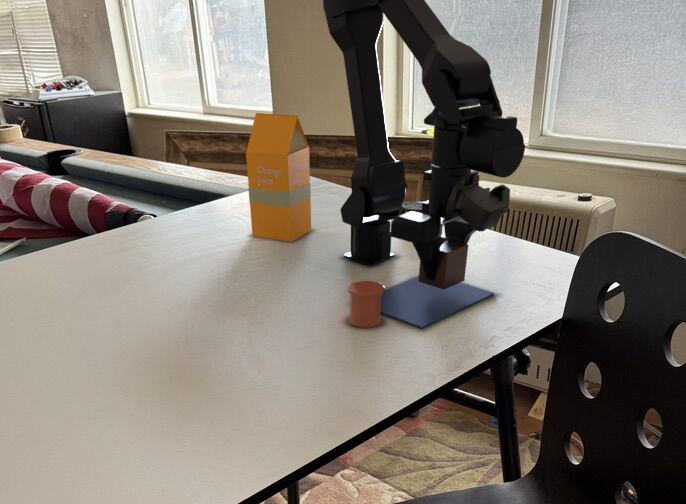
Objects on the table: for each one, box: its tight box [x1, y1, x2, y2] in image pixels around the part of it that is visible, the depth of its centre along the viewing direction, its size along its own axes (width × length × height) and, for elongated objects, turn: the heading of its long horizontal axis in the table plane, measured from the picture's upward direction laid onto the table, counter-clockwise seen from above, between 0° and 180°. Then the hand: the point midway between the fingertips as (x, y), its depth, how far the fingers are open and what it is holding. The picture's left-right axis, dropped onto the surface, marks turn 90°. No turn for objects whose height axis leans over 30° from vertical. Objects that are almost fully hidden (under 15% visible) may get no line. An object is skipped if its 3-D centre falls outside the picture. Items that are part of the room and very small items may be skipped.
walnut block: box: [418, 239, 469, 290], centre depth 105 cm, size 5×5×6 cm
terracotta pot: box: [347, 280, 385, 329], centre depth 97 cm, size 5×5×5 cm
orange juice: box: [245, 112, 312, 243], centre depth 126 cm, size 8×9×20 cm
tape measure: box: [400, 200, 430, 215], centre depth 132 cm, size 7×7×4 cm
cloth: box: [381, 275, 495, 330], centre depth 104 cm, size 13×17×1 cm
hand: (441, 274), depth 106 cm, fingers closed on walnut block, 5 cm apart
